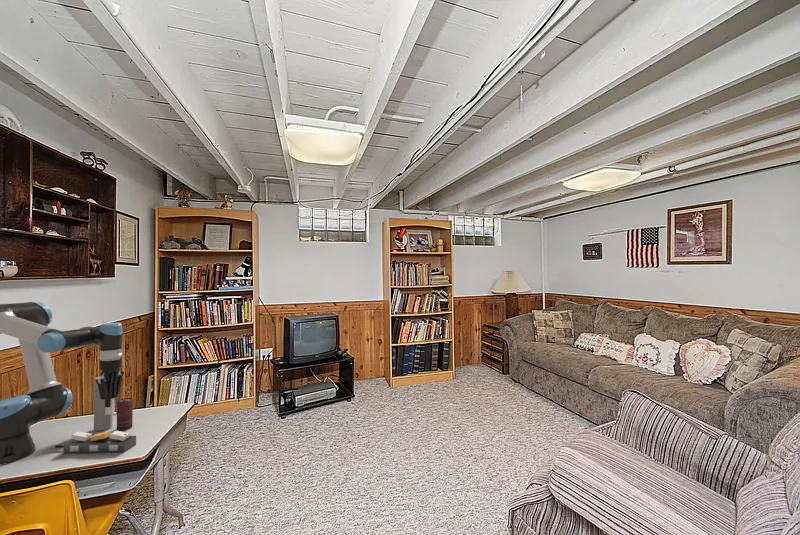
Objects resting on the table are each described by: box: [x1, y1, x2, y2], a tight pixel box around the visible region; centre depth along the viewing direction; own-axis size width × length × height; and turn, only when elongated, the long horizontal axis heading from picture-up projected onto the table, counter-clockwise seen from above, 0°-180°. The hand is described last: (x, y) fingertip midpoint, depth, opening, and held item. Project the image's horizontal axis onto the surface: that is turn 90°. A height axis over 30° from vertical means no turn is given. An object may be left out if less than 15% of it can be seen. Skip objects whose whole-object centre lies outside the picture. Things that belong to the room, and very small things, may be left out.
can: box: [116, 397, 134, 432], centre depth 174 cm, size 6×6×14 cm
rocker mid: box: [90, 430, 112, 441], centre depth 153 cm, size 6×3×2 cm, turn 92°
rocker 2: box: [110, 430, 131, 441], centre depth 154 cm, size 6×3×2 cm, turn 92°
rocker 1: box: [70, 431, 93, 441], centre depth 153 cm, size 6×3×2 cm, turn 92°
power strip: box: [54, 435, 137, 455], centre depth 153 cm, size 31×7×4 cm, turn 92°
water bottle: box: [93, 375, 117, 432], centre depth 175 cm, size 9×8×25 cm
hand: (109, 413), depth 154 cm, fingers closed
